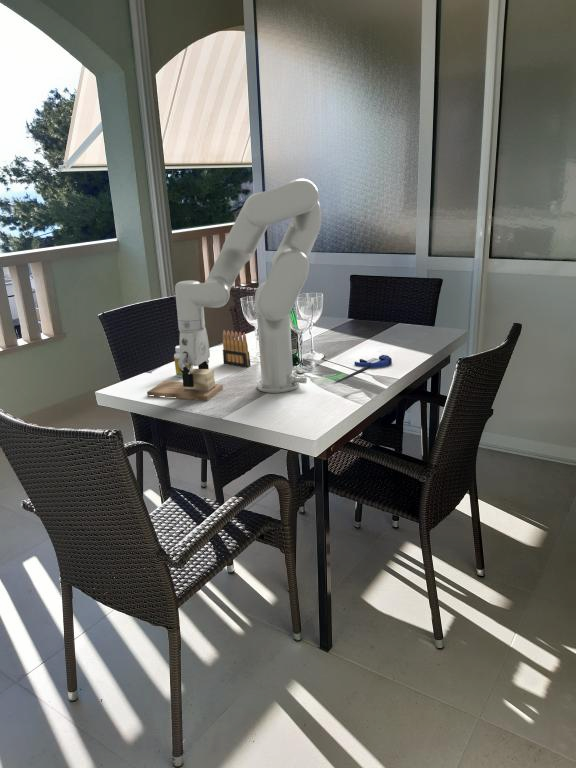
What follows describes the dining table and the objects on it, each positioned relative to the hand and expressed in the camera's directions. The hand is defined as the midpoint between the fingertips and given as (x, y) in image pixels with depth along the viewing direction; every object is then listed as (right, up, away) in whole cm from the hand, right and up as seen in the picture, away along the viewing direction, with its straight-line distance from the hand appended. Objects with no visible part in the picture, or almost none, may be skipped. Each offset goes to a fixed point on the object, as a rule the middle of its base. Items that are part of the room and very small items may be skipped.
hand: (196, 381), depth 179 cm
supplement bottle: (-7, +2, +20) cm, 22 cm away
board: (-4, -3, +3) cm, 6 cm away
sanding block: (+1, -2, +1) cm, 3 cm away
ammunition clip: (+10, +5, +27) cm, 30 cm away
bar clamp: (+48, +2, +11) cm, 49 cm away
